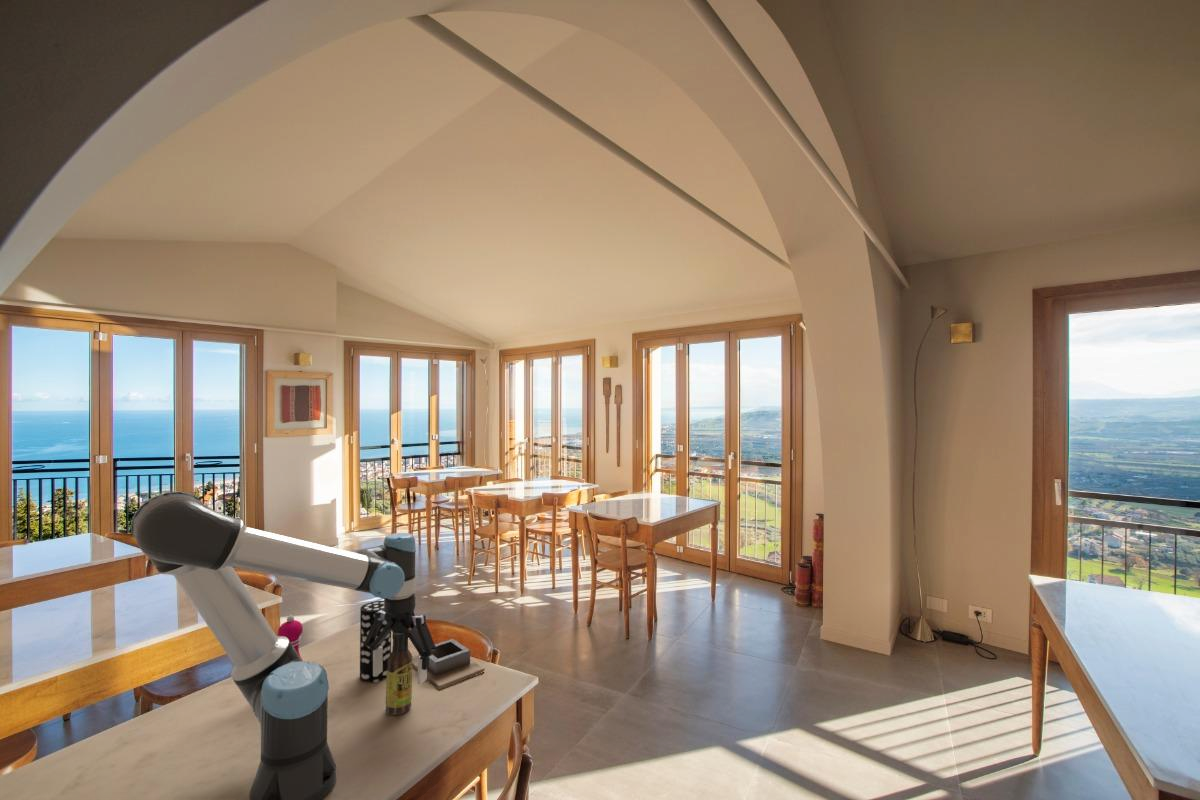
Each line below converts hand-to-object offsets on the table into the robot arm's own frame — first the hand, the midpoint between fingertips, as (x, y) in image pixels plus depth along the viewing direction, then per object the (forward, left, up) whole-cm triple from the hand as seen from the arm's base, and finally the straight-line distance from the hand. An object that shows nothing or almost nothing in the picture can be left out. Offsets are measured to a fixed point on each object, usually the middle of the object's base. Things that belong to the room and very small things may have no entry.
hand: (399, 677), depth 134 cm
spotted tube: (+22, -2, -8) cm, 24 cm away
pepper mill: (+31, +18, -8) cm, 37 cm away
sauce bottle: (0, 0, -8) cm, 8 cm away
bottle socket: (+13, -19, -8) cm, 24 cm away
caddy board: (+13, -19, -8) cm, 24 cm away
